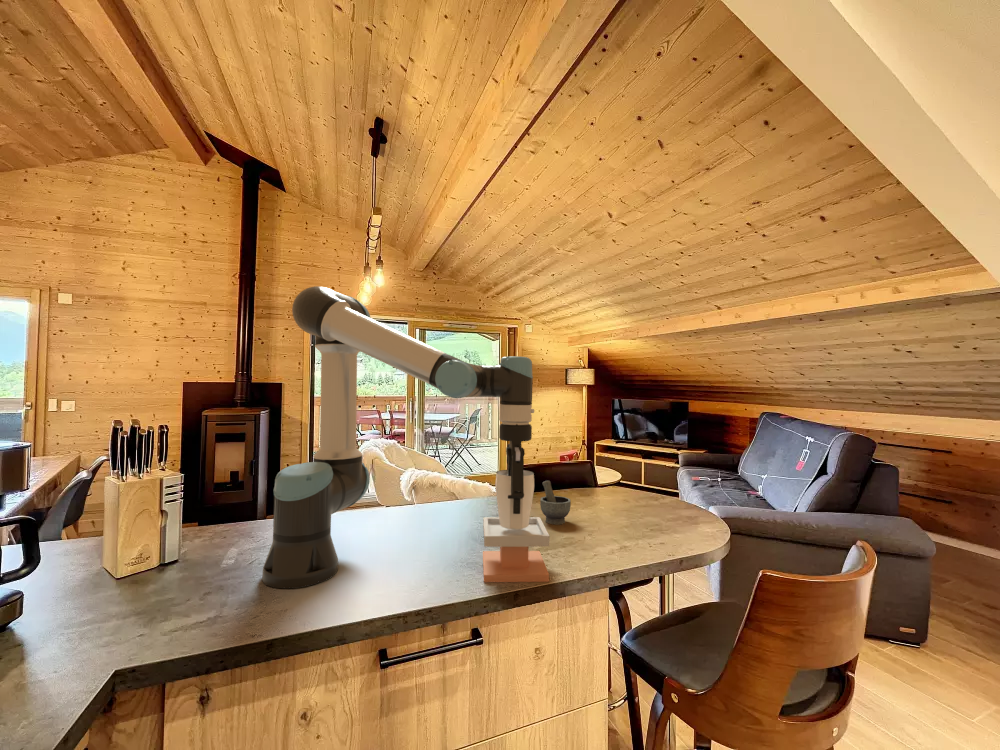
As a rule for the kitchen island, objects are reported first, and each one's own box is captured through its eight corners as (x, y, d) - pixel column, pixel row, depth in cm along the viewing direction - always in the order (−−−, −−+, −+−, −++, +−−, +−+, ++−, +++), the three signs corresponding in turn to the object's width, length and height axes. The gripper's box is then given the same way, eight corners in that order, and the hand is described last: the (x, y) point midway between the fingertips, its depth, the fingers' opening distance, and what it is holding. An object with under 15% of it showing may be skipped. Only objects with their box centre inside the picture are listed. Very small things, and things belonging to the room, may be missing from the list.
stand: (483, 582, 94) (484, 536, 94) (482, 557, 108) (483, 517, 108) (548, 581, 95) (549, 536, 95) (539, 557, 109) (539, 517, 109)
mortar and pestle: (577, 523, 136) (577, 484, 137) (552, 528, 132) (552, 487, 132) (555, 514, 146) (556, 478, 147) (531, 518, 142) (532, 480, 142)
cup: (531, 532, 96) (531, 477, 97) (490, 529, 98) (491, 475, 99) (535, 521, 105) (536, 470, 106) (499, 518, 107) (499, 468, 107)
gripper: (538, 427, 92) (536, 536, 91) (526, 420, 113) (525, 509, 113) (502, 426, 92) (500, 536, 91) (497, 419, 113) (495, 508, 112)
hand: (514, 521), depth 102 cm, fingers closed on cup, 8 cm apart
